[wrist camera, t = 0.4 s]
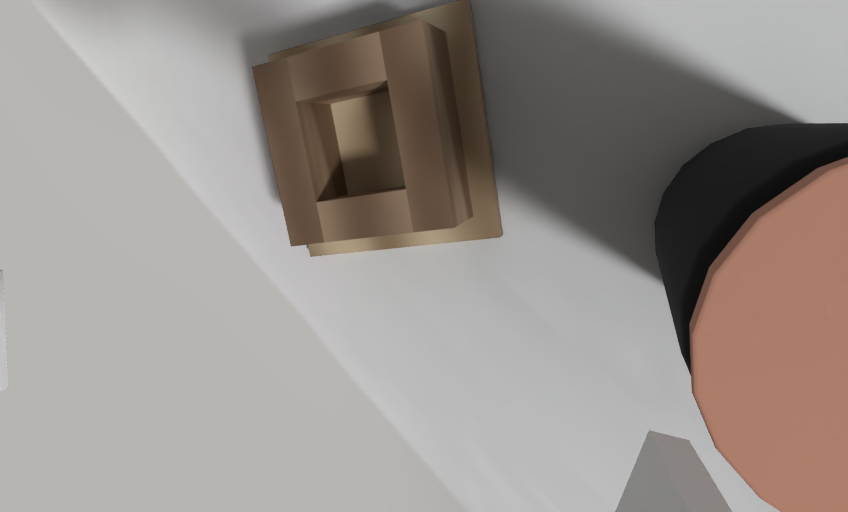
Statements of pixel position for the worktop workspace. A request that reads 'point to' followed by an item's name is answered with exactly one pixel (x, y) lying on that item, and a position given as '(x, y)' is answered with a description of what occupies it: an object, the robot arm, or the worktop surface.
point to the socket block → (382, 135)
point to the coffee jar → (766, 305)
